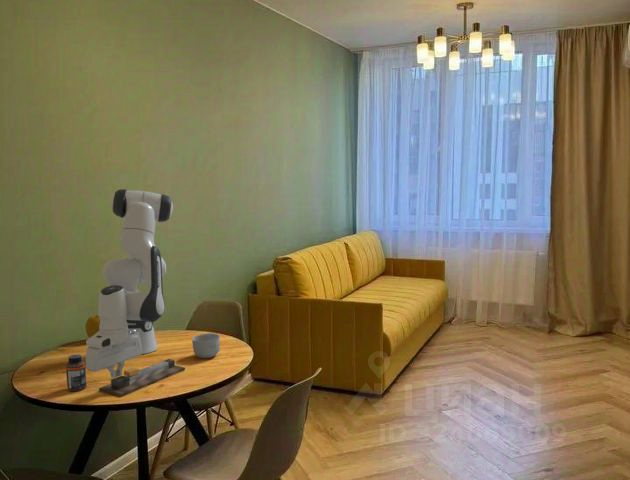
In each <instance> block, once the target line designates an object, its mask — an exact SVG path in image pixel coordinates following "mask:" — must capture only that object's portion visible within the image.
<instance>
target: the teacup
mask: <svg viewBox="0 0 630 480" xmlns="http://www.w3.org/2000/svg"><path fill="white" fill-rule="evenodd" d="M220 340H221V339H220V334H217V333H212V332H207V333H202V334H198V335H195V336H193V337H192V338H191V342H192V349H193V353H194V354H195V356H197V357H198V358H199V359H211V358H213V357H215V356H216V355H217V354H218V353H219V352H220V349H221V341H220Z"/></svg>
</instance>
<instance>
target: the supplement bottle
mask: <svg viewBox="0 0 630 480" xmlns="http://www.w3.org/2000/svg"><path fill="white" fill-rule="evenodd" d="M82 359H83V357H82V354H72V355H69V356H68V362H67V363H66V364H65V372H66V384H67V385H66V386H67V390H68V391H70V392H80V391H82V389H83V390H85V389H86V388H87V373H86V372H87V371H86V361H84V360H82ZM79 390H80V391H79Z"/></svg>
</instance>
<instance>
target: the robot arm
mask: <svg viewBox="0 0 630 480" xmlns="http://www.w3.org/2000/svg"><path fill="white" fill-rule="evenodd" d="M110 205H111V209H112V213H113V214H114V215H115V216H117V217H120V218H121V219H123V218H124V219H123V223H122V226H121V231H120V232H121V233H120V247H121V249H122V250H123V252H125V253H126V254H127V255H128V256H130V257H121V258H116V259H111V260H109V261H107V262H105V264H104V267H103V269H102V276H103V279H104V281H105V282H106V283H107V285H109V286H105V287H103V288H102V289H100V291H99V295H98V305H97V306H98V310H97V311H98V315H99V318H100V326H99V330H100V331H98V332H97V333H96V334H95V335H93V336H92V337H90V338H89V337H88V338H87V339H86V341H85V344H86V347H87V348H86V350H85V369H87V370H88V371H89V372H93V373H96V372H99V371H101V370H105V369H107V370H108V372H109V373H110V378H112V379H114V378H117V377H120V376H123V371H122V370H123V368H124V366H125V362H126V361H129V360H132V359H134V358H137V357H140V356H141V355H145V354H150V353H152V352H155V351H156V350H158V341H156V334H155V328H154V326H153V325H154V323H155V322H156V321H158V320H159V319H160V318H161V317H163V315H164V312H165V308H166V307H165V305H166V304H165V298H164V292H163V291H164V290H163V289H164V286H163V278H164V277H165V275H166V274H167V273H166V272H167V263H166V261H165V260H164V258H163V257H162V255H161V251H160V248H159V247H157V246H156V245H155V232H156V227H157V226H156V222H158V223H162V222H163V223H165V222H167V221H168V220H170V218H171V216H172V215H173V212H174V204H173V201H172V198H171V196H169V195H167V194H164V193H162V194H160V193H157V192H152V191H147V190H137V189H136V190H133V189H132V190H131V189H127V188H123V189H117V190H116V191H115V192H114V194H113V195H112V198H111V202H110ZM143 283H147V284H146V285H147V287H146V288H147V289H146V291H141V290H139V289H138V284H143ZM115 365H117V366H115ZM115 367H117V368H116V369H114V368H115Z"/></svg>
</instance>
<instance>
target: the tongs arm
mask: <svg viewBox="0 0 630 480" xmlns="http://www.w3.org/2000/svg"><path fill="white" fill-rule="evenodd" d="M174 363H176V362H175V359H170V358H168V359H164V360H162V361H159V362H157V363H155V364H152V365H150V366H147V367H144V368H141V369H139V373H137V374H134V375H132V376H126V375H124V376H125V377H129V381H131V380H134V379H136V378H139V377H141V376H144V375H146V374H149V373H151V372H154V371H156V370H159V369H161V368H164V367H166V366H169V365H171V364H174Z"/></svg>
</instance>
